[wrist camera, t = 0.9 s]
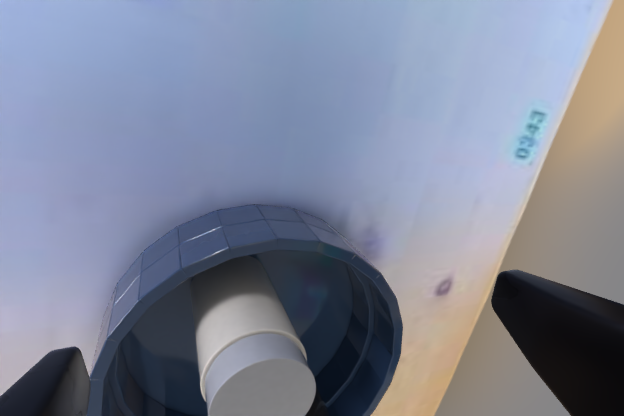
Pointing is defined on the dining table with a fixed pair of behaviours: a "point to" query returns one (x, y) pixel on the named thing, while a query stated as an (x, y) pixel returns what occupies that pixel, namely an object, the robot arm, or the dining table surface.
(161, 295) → the bowl
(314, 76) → the dining table surface
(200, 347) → the salt shaker
